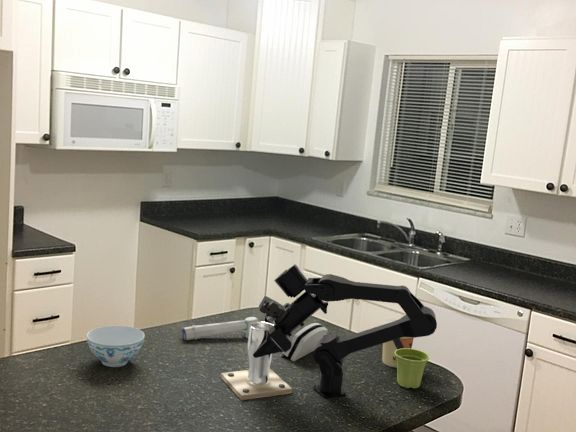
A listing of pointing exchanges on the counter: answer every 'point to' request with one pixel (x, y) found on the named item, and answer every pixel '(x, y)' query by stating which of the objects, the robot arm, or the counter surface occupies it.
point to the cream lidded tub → (394, 348)
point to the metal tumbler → (260, 365)
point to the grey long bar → (217, 329)
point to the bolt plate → (250, 391)
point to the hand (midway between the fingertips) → (253, 349)
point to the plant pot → (410, 367)
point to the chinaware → (115, 344)
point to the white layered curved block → (305, 341)
